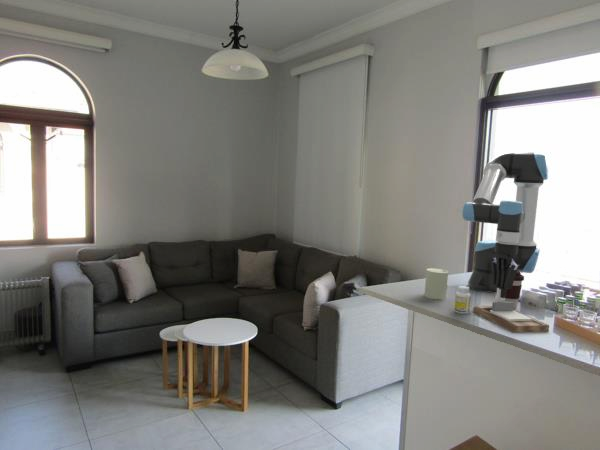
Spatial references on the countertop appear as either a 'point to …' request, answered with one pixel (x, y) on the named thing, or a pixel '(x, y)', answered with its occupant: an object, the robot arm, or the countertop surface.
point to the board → (512, 325)
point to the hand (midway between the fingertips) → (499, 305)
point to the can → (436, 283)
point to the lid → (507, 312)
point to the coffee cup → (515, 290)
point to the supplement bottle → (462, 300)
